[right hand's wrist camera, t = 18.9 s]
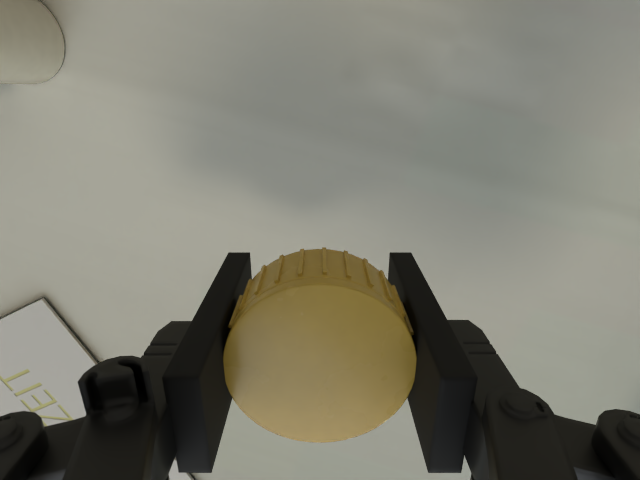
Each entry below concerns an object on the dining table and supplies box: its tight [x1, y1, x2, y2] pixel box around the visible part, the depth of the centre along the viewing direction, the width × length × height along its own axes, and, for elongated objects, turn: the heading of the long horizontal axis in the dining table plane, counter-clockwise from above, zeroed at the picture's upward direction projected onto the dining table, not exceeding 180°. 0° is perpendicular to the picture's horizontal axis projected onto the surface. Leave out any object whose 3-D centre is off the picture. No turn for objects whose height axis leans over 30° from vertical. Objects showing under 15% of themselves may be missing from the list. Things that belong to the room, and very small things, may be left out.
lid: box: [223, 248, 417, 443], centre depth 11 cm, size 5×5×2 cm
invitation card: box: [0, 298, 194, 480], centre depth 32 cm, size 21×1×15 cm
